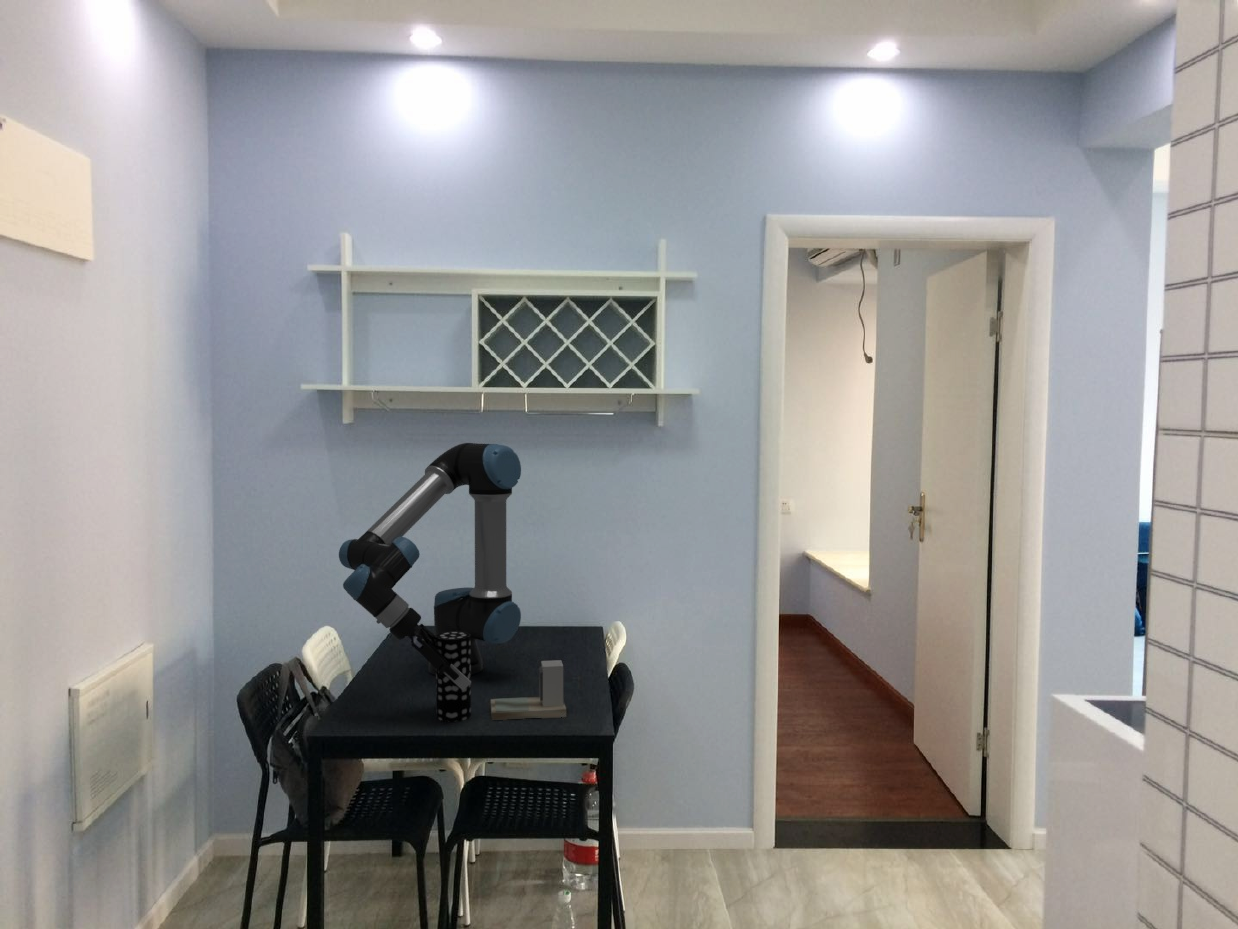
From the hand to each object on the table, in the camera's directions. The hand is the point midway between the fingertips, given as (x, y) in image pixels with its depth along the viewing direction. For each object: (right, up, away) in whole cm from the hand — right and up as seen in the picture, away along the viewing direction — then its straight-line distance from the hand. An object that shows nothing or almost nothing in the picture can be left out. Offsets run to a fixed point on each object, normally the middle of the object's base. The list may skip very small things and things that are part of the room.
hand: (467, 680), depth 225 cm
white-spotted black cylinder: (-3, -9, 0) cm, 9 cm away
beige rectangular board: (+15, -9, +3) cm, 17 cm away
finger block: (+20, -7, +4) cm, 22 cm away
